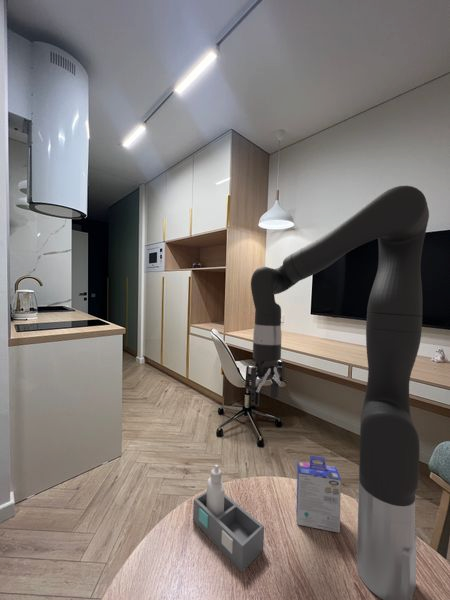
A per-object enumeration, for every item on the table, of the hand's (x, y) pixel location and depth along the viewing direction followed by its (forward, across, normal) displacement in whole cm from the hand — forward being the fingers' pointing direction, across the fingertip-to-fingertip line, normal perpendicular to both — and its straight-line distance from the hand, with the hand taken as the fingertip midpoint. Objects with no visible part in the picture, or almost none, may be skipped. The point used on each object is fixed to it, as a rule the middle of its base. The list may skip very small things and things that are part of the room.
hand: (265, 401), depth 68 cm
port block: (+26, -14, -1) cm, 30 cm away
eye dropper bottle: (+25, -14, +3) cm, 29 cm away
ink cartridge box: (+26, +5, -13) cm, 30 cm away
